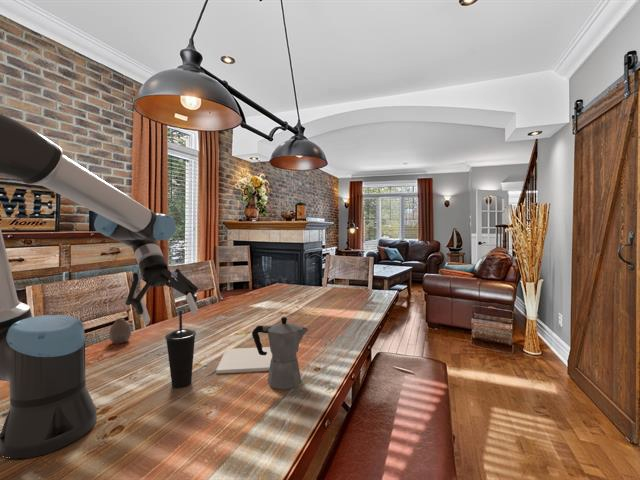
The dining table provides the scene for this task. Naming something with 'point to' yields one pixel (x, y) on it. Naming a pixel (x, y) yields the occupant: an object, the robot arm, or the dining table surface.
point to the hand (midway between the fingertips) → (173, 317)
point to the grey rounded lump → (120, 331)
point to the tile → (244, 360)
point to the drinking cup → (181, 355)
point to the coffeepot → (282, 353)
